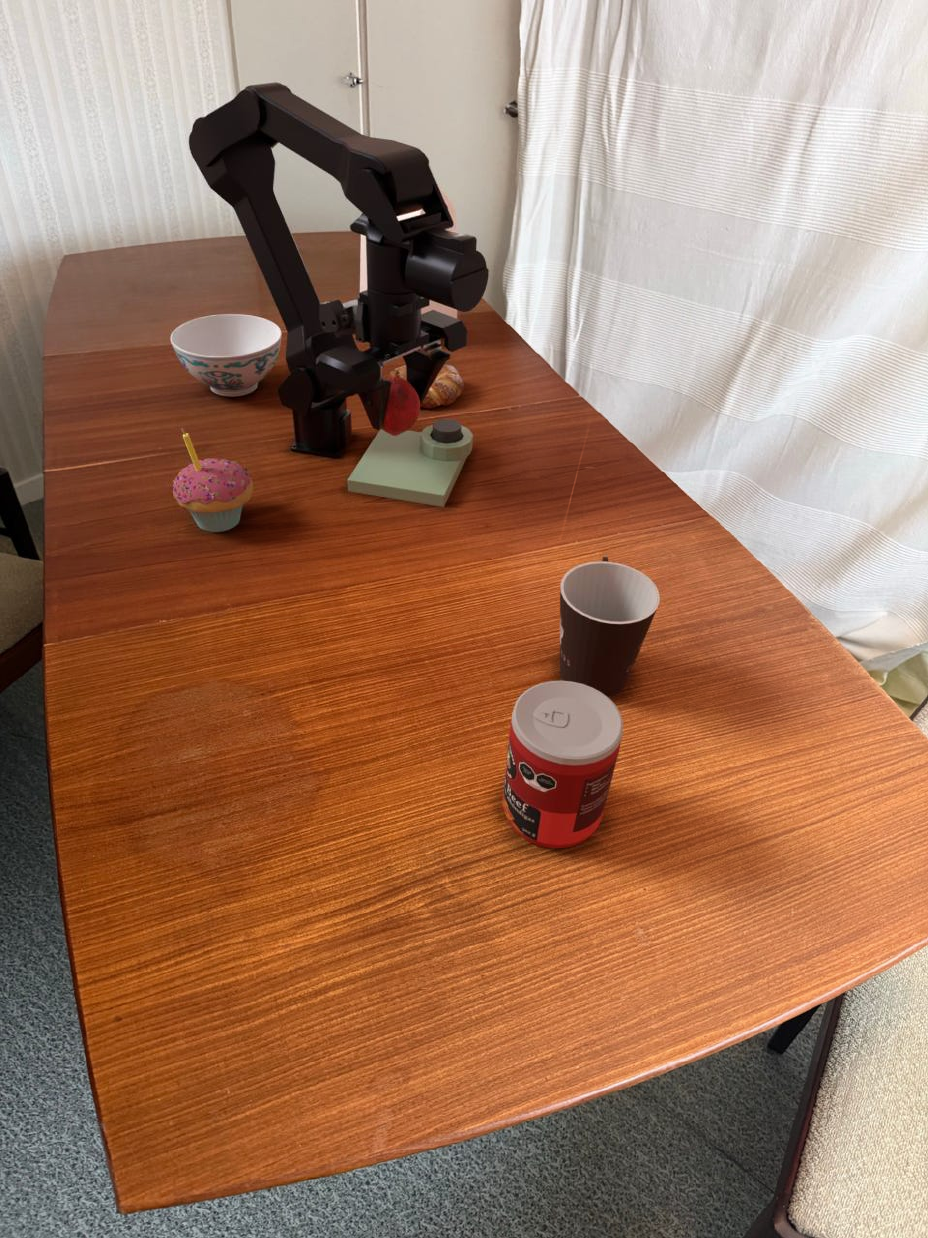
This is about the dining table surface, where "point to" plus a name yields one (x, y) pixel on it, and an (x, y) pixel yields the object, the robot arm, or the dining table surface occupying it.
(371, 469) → the green flat block
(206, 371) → the chinaware
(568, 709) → the canned food
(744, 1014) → the dining table surface
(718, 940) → the dining table surface
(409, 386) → the onion
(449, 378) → the twisted bread ring
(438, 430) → the button
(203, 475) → the cupcake
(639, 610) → the coffee mug
